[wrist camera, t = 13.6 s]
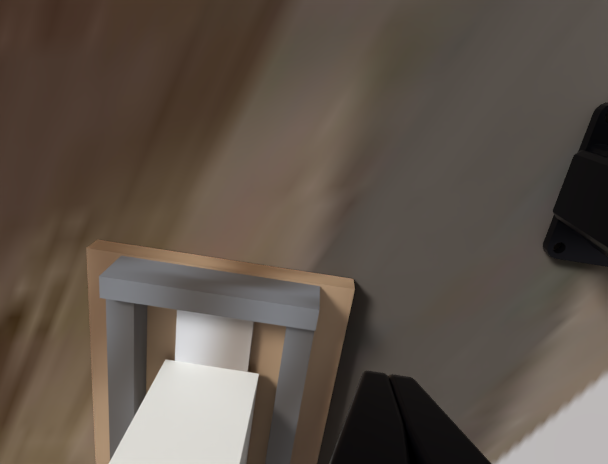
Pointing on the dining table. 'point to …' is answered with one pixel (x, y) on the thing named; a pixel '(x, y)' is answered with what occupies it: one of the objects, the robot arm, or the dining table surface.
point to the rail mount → (215, 339)
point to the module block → (192, 417)
